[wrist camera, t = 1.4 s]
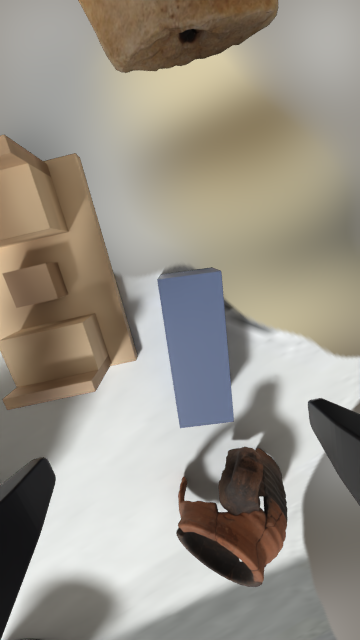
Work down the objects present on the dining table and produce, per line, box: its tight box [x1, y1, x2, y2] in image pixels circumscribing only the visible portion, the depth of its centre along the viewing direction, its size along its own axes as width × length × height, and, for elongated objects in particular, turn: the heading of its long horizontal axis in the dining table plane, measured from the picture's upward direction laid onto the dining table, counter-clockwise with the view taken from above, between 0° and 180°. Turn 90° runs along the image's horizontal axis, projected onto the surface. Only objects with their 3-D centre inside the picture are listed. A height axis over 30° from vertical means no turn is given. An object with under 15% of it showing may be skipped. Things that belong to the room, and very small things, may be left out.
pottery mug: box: [176, 447, 287, 587], centre depth 22 cm, size 12×10×8 cm
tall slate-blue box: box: [157, 267, 234, 428], centre depth 19 cm, size 11×4×4 cm, turn 7°
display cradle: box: [0, 135, 138, 410], centre depth 17 cm, size 10×15×5 cm, turn 13°
